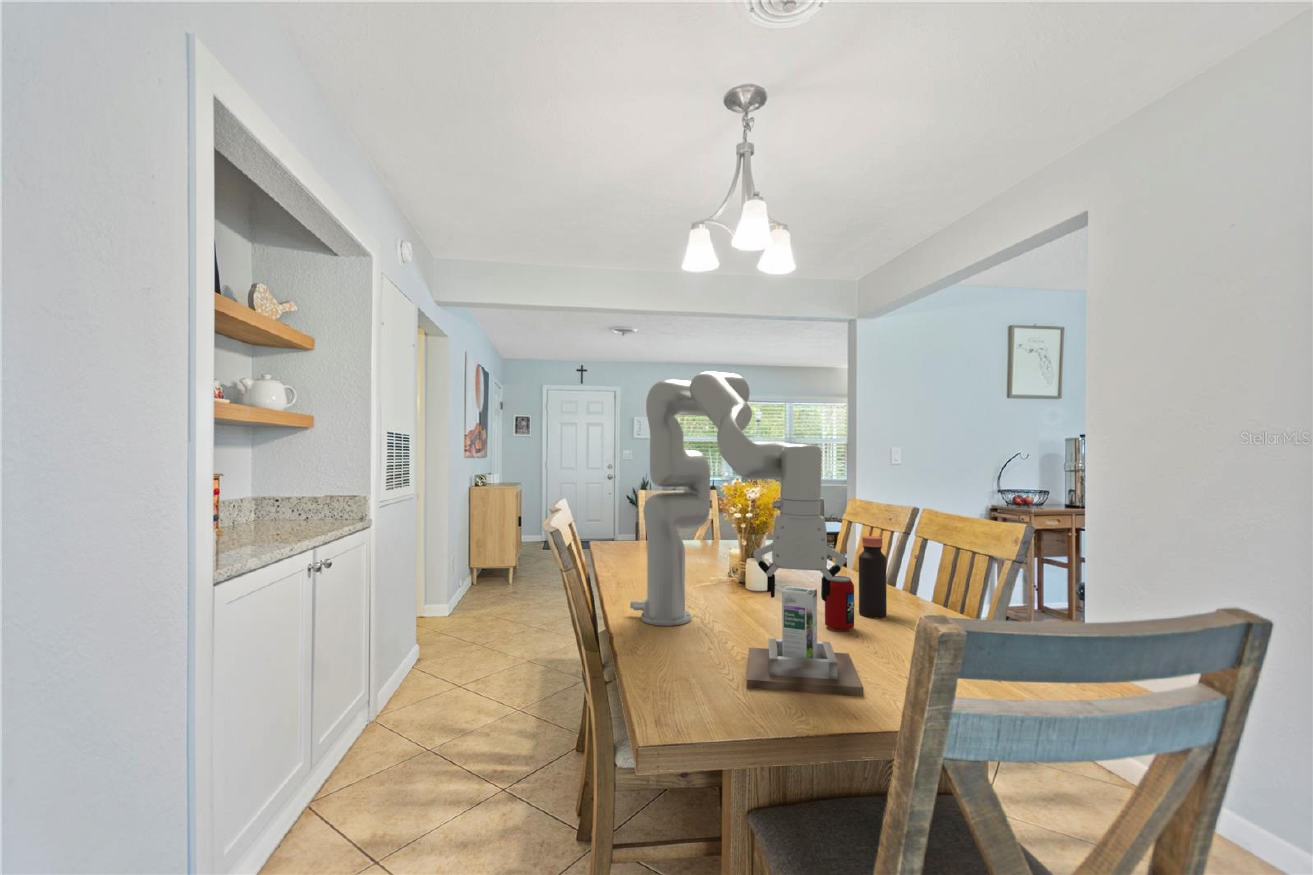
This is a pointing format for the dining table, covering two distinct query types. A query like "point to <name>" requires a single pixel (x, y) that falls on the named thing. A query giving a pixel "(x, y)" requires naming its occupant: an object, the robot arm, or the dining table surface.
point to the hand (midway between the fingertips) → (798, 597)
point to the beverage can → (840, 604)
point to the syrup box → (799, 622)
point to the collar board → (803, 671)
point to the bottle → (872, 578)
